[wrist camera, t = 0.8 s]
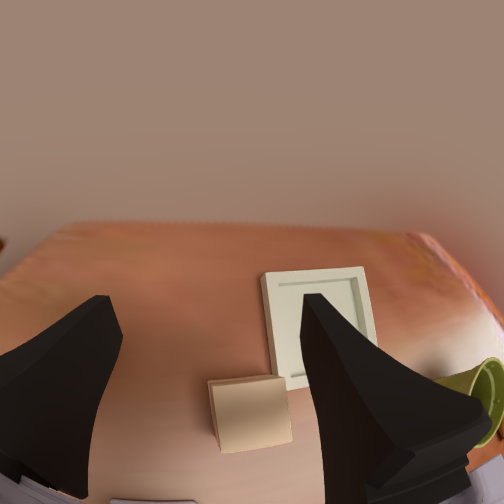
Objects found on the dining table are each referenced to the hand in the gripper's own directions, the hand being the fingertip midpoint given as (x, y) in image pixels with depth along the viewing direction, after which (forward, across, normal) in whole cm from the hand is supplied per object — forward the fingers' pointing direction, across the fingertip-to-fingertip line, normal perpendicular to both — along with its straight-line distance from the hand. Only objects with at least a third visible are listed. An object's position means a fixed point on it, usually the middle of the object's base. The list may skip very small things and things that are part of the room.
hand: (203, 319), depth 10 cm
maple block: (+6, 0, +14) cm, 15 cm away
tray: (+12, -8, +11) cm, 18 cm away
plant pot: (+6, -22, +21) cm, 31 cm away
